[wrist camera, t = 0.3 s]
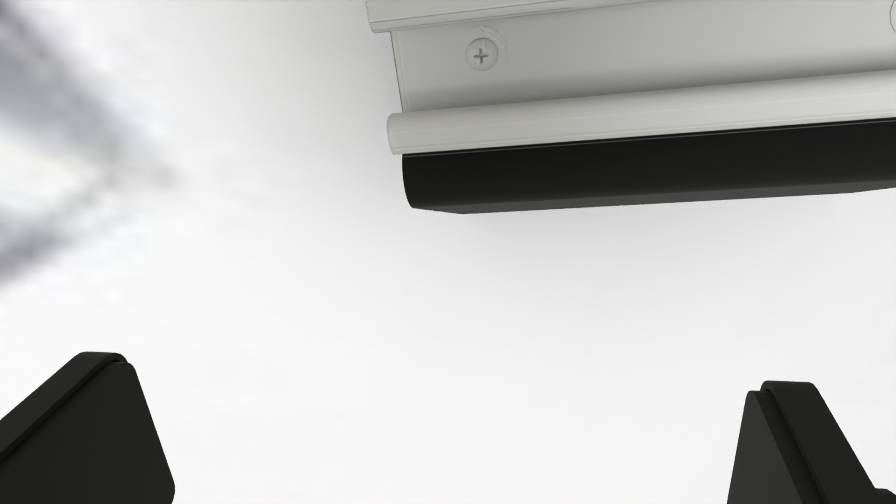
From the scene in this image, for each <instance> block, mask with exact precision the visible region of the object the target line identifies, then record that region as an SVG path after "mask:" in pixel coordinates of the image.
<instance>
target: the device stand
mask: <svg viewBox="0 0 896 504" xmlns="http://www.w3.org/2000/svg"><path fill="white" fill-rule="evenodd" d="M366 7H367V13H368V19H369V23H370V27H371V29H372V31H373V33H382V32H390V33H391V40H392V46H393V53H394V59H395V66H396V72H397V79H398V85H399V92H400V98H401V105H402V111H403V113H393V114H391V115H390V116H389V117H388V121H387V132H388V139H389V145H390V149H391V152H392V153H393V154H402V171H403V181H404V188H405V192H406V196H407V199H408V202H409V204H410V206H411V207H412V208H417V209H425V210H433V211H441V212H449V213H457V214H473V213H491V212H510V211H528V210H546V209H565V208H583V207H601V206H620V205H638V204H656V203H675V202H693V201H711V200H730V199H748V198H766V197H784V196H803V195H821V194H839V193H854V192H862V191H871V190H879V189H887V188H895V187H896V0H366Z"/></svg>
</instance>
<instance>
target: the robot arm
mask: <svg viewBox="0 0 896 504" xmlns="http://www.w3.org/2000/svg"><path fill="white" fill-rule="evenodd" d="M174 494H175V484H174V481H173V478H172V475H171V472H170V469H169V466H168V463H167V460H166V457H165V454H164V452H163V449H162V446H161V443H160V440H159V437H158V434H157V431H156V428H155V425H154V423H153V420H152V417H151V414H150V411H149V408H148V405H147V402H146V399H145V397H144V394H143V391H142V388H141V385H140V382H139V379H138V376H137V373H136V370H135V369H134V367H133V365H131V364H130V363H128V362H127V360H126V358H125V357H124V356H122V355H121V354H118V353H109V352H82V353H79V354H78V355H76V356H74V357H73V358H72V359H71V360H70V361H69V362H67V363H66V364H65V365H64V366H63V367H62V368H60V369H59V370H58V371H57V372H56V373H55V374H53V375H52V376H51V377H50V378H49V379H48V380H46V381H45V382H44V383H43V384H42V385H41V386H40V387H38V388H37V389H36V390H35V391H34V392H33V393H31V394H30V395H29V396H28V397H27V398H26V399H24V400H23V401H22V402H21V403H20V404H19V405H17V406H16V407H15V408H14V409H13V410H12V411H10V412H9V413H8V414H7V415H6V416H5V417H3V418H2V419H1V420H0V504H172V501H173V499H174ZM727 504H896V495H895V494H894V493H892V492H891V491H889V490H888V489H879V488H875V487H874V486H873V484H872V482H871V481H870V479H869V477H868V475H867V474H866V472H865V470H864V468H863V467H862V465H861V463H860V462H859V460H858V458H857V456H856V455H855V453H854V451H853V450H852V448H851V446H850V444H849V443H848V441H847V439H846V438H845V436H844V434H843V432H842V431H841V429H840V427H839V425H838V424H837V422H836V420H835V419H834V417H833V415H832V413H831V412H830V410H829V408H828V407H827V405H826V403H825V401H824V400H823V398H822V396H821V395H820V393H819V391H818V389H817V388H816V387H815V386H814V384H812V383H810V382H790V381H765V382H764V383H763V384H762V386H761V389H760V391H749V392H748V394H747V396H746V400H745V406H744V411H743V417H742V422H741V428H740V433H739V439H738V444H737V450H736V456H735V461H734V467H733V472H732V478H731V483H730V489H729V494H728V500H727Z"/></svg>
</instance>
